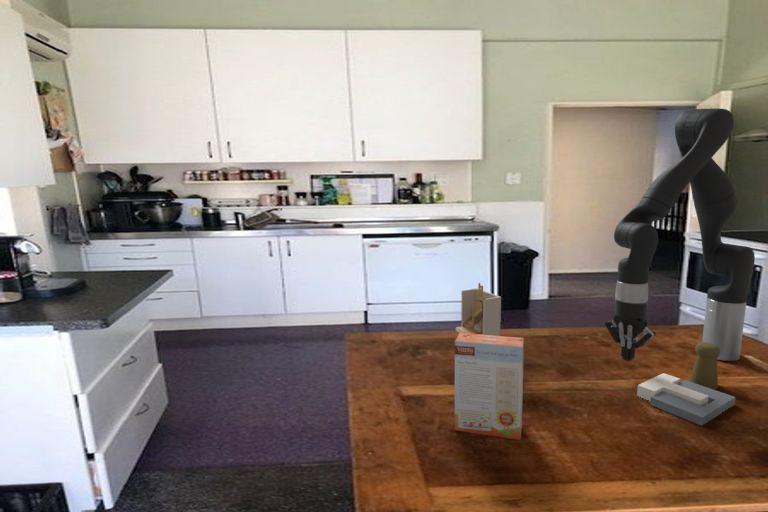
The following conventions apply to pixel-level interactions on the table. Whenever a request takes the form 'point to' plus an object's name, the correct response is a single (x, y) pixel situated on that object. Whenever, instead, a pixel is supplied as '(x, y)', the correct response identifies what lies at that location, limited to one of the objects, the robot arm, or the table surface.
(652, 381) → the t block
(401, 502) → the table surface
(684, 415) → the t bay
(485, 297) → the beige open box
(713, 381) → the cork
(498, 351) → the cracker box
